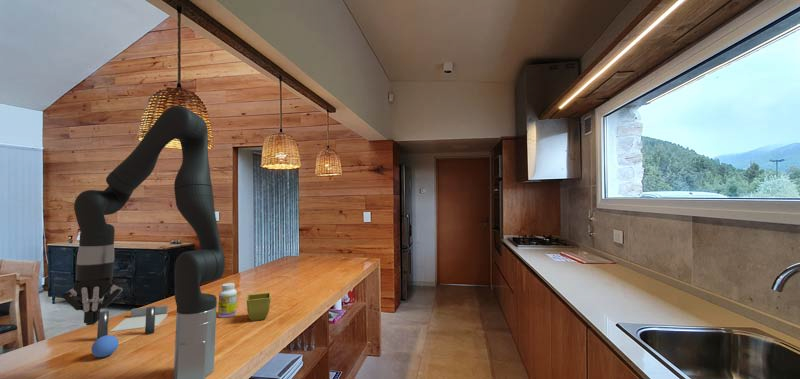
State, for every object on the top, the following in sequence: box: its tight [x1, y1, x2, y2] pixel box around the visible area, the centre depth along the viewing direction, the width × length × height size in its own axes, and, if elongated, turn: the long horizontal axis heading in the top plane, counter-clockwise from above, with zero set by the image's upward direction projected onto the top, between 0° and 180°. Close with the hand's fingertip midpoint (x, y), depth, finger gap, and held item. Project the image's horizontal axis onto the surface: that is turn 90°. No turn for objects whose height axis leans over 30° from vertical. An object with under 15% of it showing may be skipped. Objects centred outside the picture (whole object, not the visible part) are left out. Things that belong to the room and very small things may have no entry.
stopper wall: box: [130, 305, 169, 318], centre depth 130 cm, size 2×12×3 cm, turn 113°
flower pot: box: [246, 292, 272, 322], centre depth 126 cm, size 9×9×9 cm
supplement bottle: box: [217, 282, 238, 318], centre depth 130 cm, size 7×7×13 cm
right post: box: [144, 305, 156, 336], centre depth 111 cm, size 3×3×9 cm
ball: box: [90, 334, 119, 358], centre depth 94 cm, size 6×6×6 cm
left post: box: [96, 310, 110, 340], centre depth 106 cm, size 3×3×9 cm
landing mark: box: [109, 313, 169, 333], centre depth 121 cm, size 14×14×1 cm
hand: (91, 324), depth 86 cm, fingers closed
